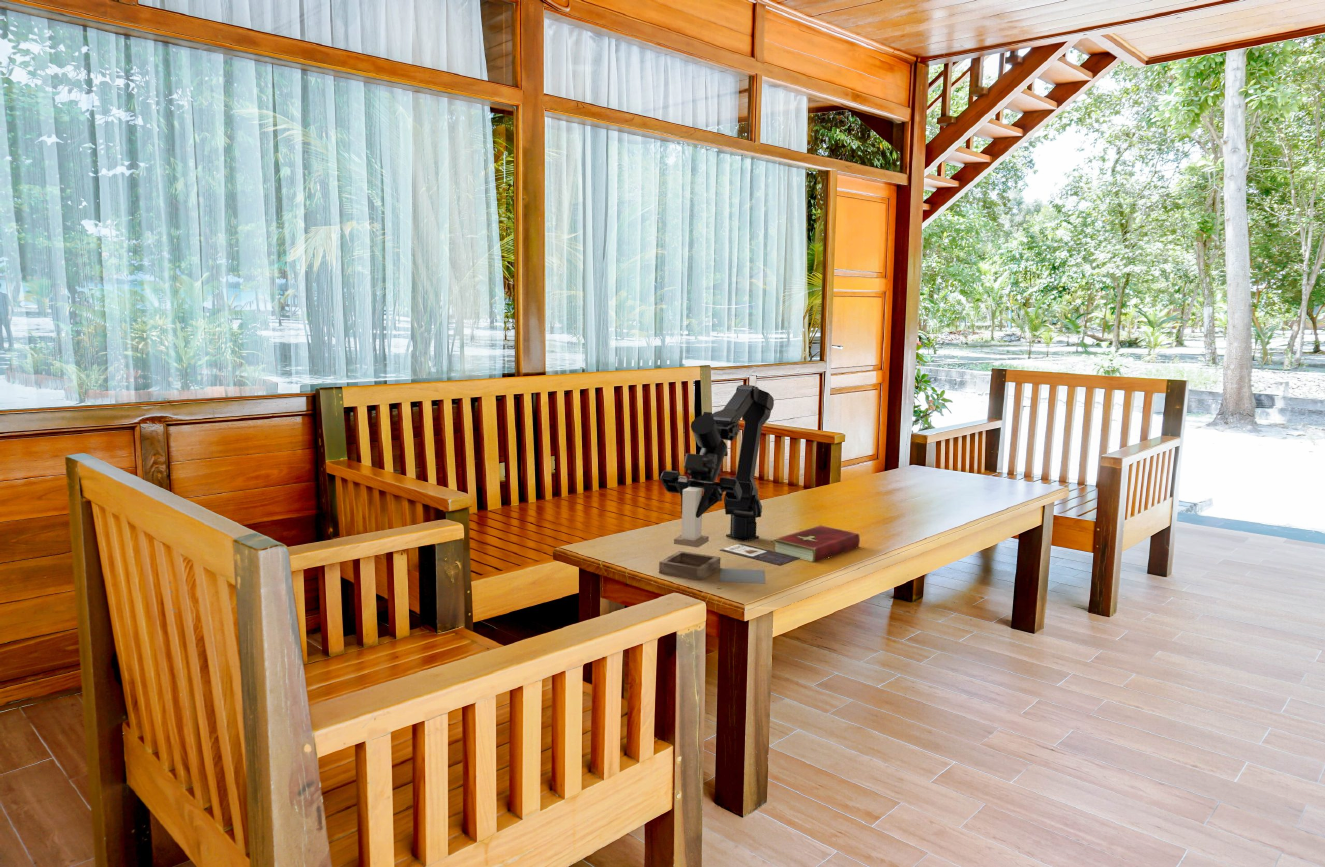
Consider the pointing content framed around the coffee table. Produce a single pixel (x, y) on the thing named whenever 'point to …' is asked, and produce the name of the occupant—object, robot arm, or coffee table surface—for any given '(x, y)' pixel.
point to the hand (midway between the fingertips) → (689, 515)
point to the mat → (742, 575)
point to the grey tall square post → (691, 519)
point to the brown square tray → (677, 569)
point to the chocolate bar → (760, 554)
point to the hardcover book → (817, 543)
